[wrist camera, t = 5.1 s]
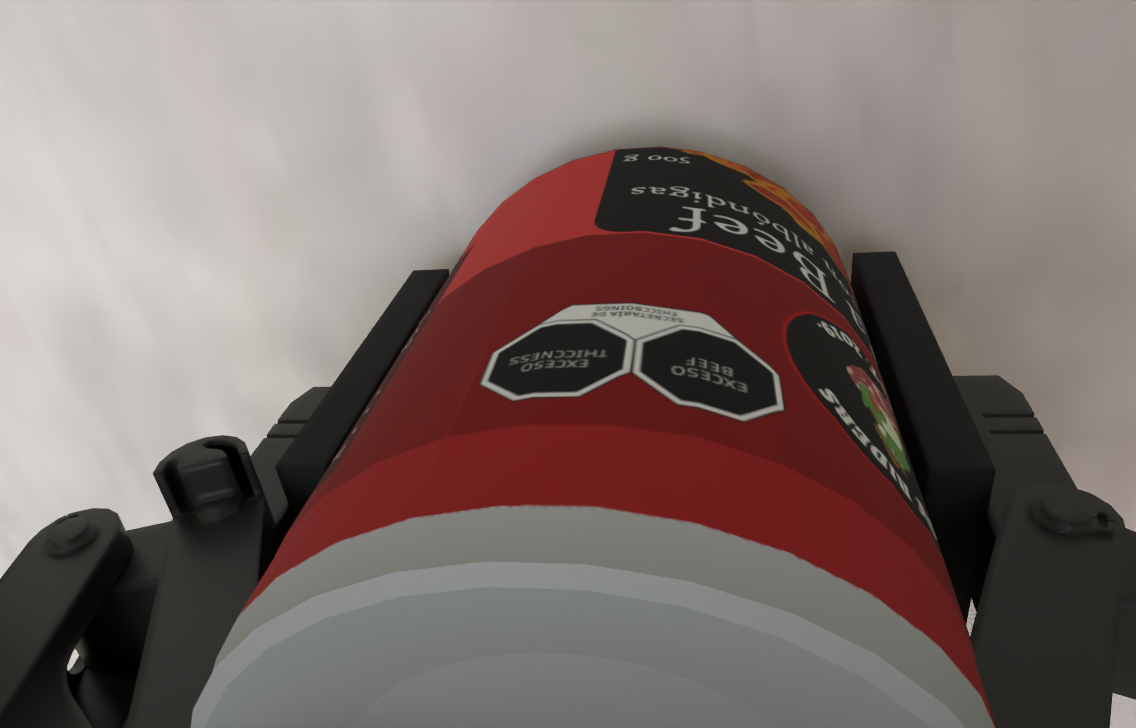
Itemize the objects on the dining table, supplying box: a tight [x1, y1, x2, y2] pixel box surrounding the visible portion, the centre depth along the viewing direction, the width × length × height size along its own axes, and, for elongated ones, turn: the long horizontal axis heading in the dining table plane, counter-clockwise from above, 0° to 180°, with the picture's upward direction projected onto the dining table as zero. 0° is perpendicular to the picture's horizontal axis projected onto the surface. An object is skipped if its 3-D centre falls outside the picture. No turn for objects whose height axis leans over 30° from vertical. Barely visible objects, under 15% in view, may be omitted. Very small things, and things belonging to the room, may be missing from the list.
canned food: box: [191, 147, 996, 728], centre depth 13 cm, size 8×8×11 cm
